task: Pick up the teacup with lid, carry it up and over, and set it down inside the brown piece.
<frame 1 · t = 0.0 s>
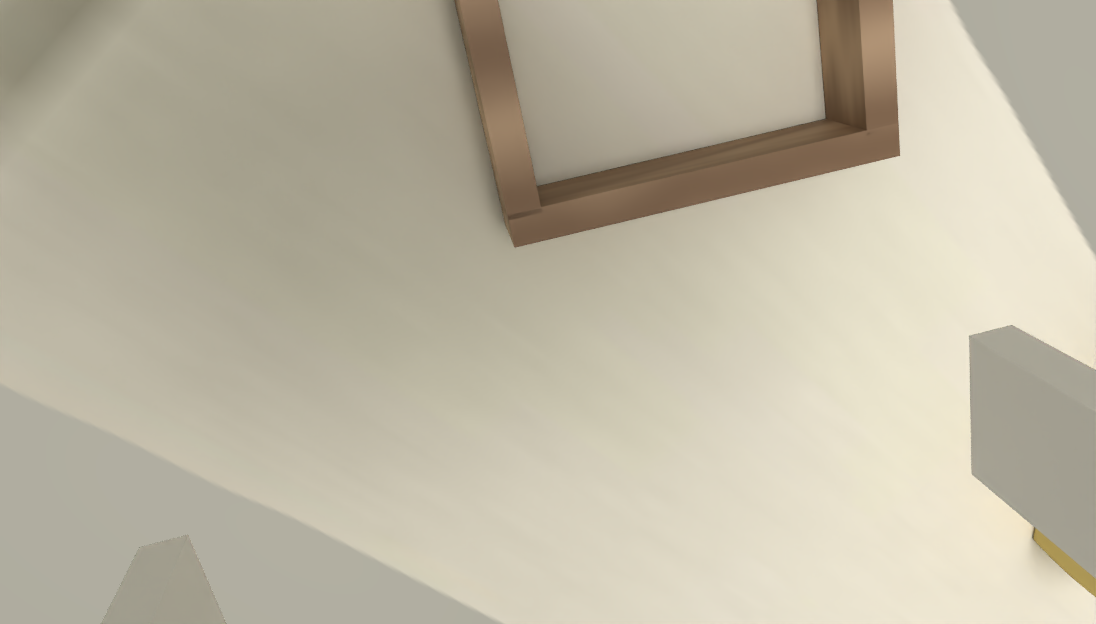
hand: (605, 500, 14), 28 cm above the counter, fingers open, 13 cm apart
brown piece: (662, 30, 39), on the counter
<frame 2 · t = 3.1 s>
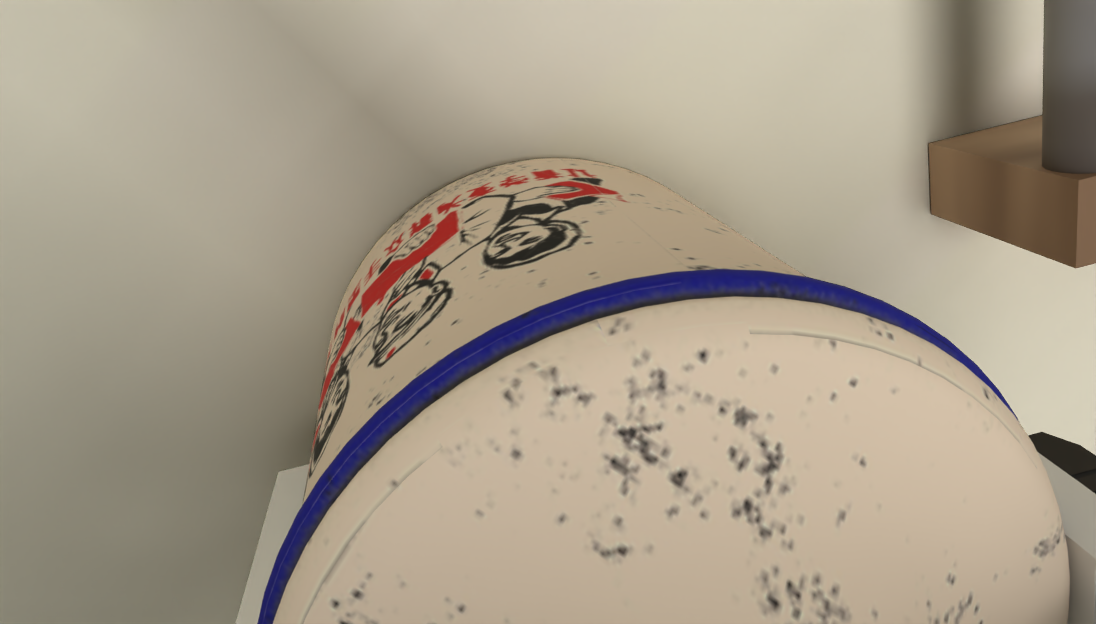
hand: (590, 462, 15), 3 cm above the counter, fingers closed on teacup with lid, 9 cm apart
teacup with lid: (499, 413, 18), on the counter, touching gripper
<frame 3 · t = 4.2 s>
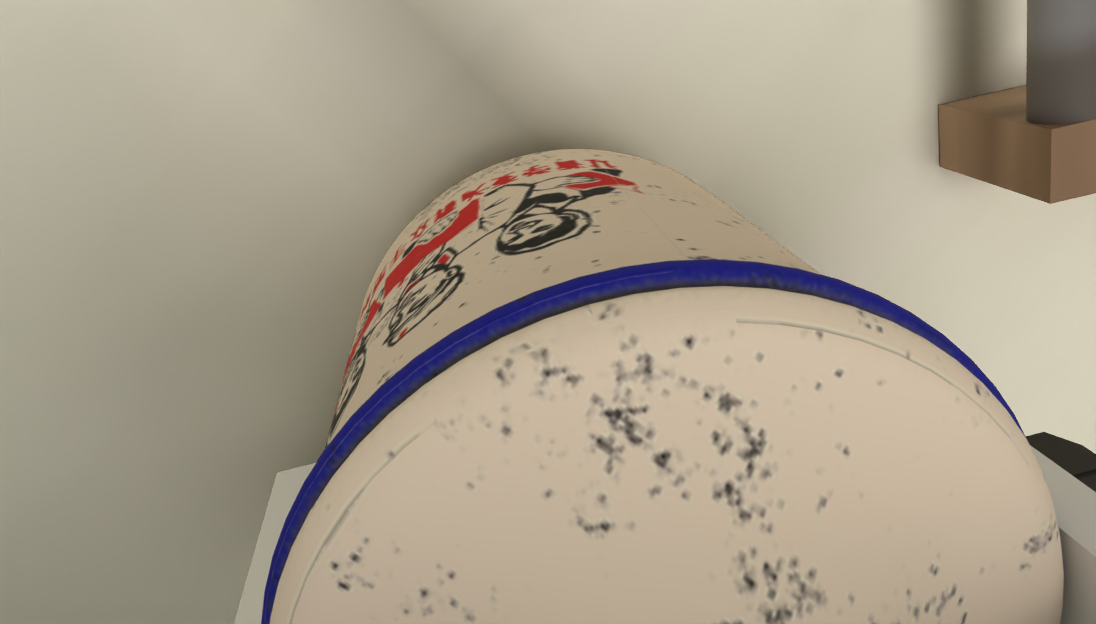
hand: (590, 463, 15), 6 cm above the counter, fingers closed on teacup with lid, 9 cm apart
teacup with lid: (521, 398, 18), point 3 cm above the counter, touching gripper
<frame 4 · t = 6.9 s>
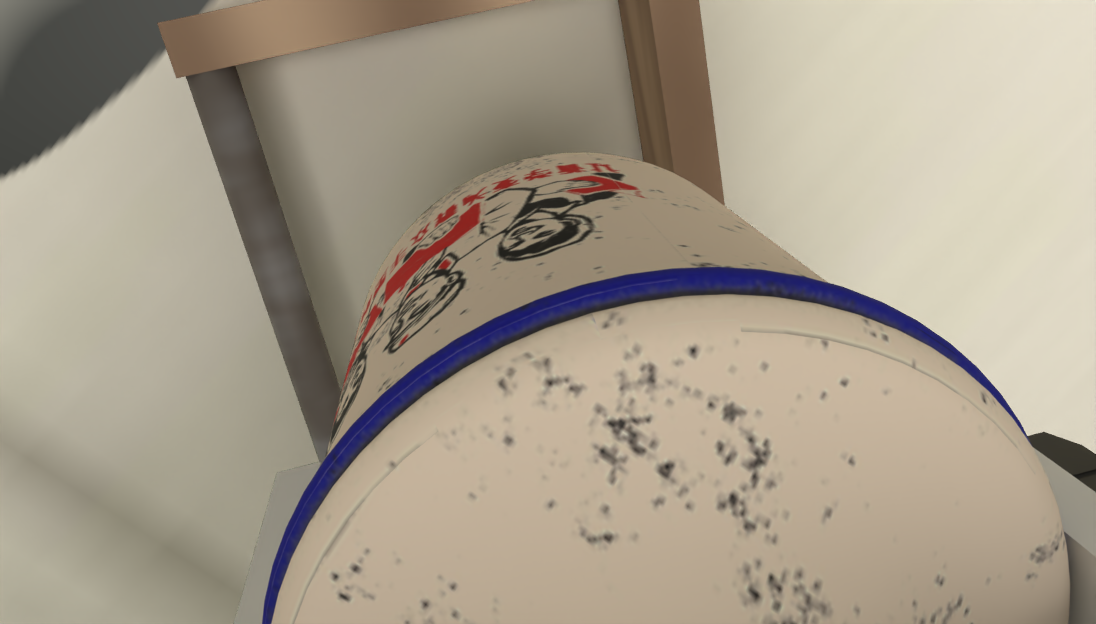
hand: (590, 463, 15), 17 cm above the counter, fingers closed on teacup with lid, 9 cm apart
brown piece: (497, 229, 31), on the counter
teacup with lid: (522, 402, 18), point 14 cm above the counter, touching gripper
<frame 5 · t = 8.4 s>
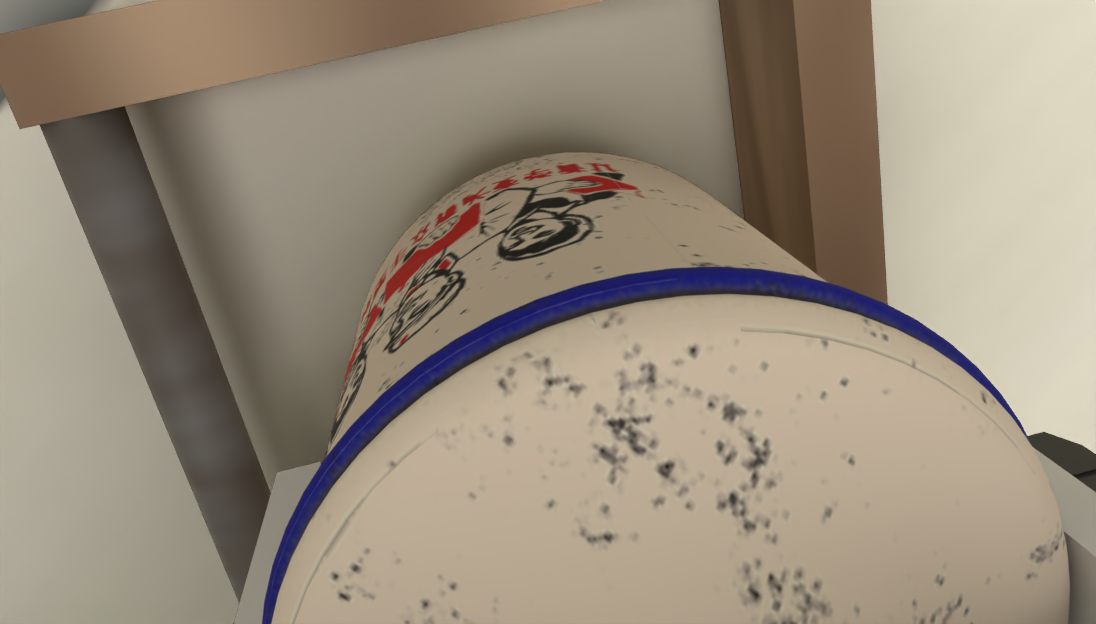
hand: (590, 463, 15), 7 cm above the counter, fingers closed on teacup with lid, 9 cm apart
brown piece: (534, 331, 21), on the counter
teacup with lid: (522, 402, 18), point 4 cm above the counter, touching gripper
when the fingers open (4 cm above the counter, at t = 9.6 s): teacup with lid drops 1 cm, on the counter.
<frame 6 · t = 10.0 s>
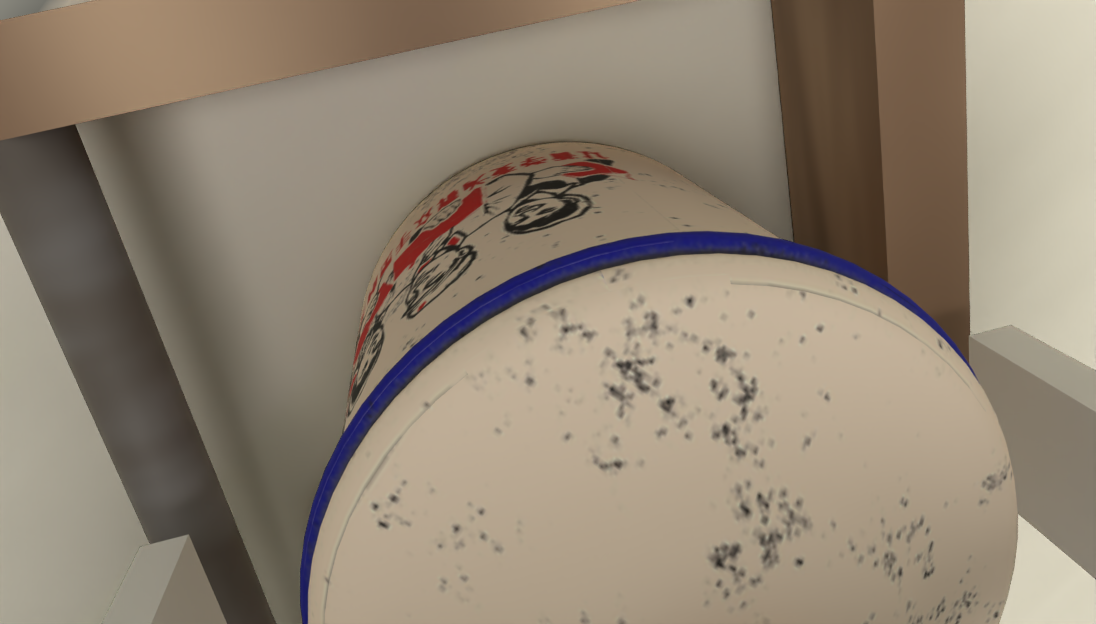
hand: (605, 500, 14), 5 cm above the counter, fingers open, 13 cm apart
brown piece: (555, 372, 19), on the counter
teacup with lid: (516, 380, 19), on the counter
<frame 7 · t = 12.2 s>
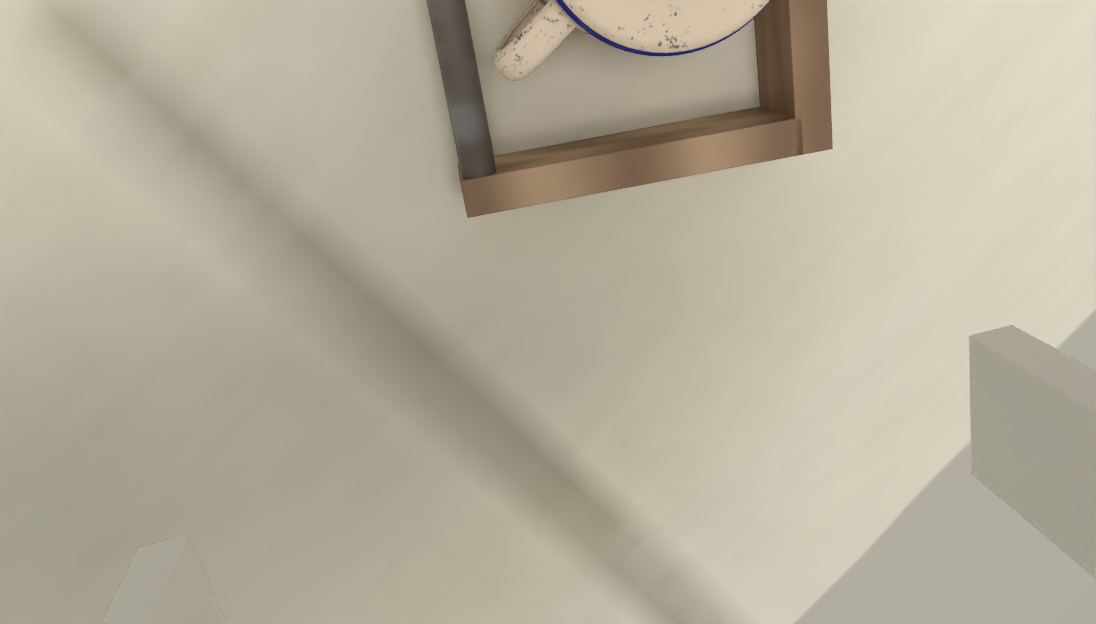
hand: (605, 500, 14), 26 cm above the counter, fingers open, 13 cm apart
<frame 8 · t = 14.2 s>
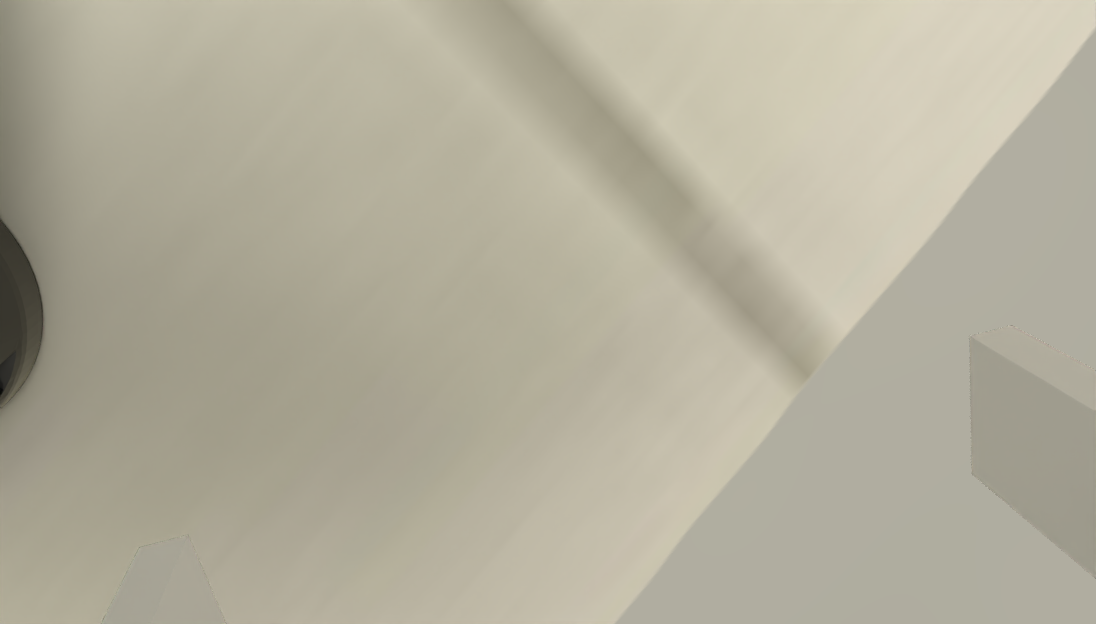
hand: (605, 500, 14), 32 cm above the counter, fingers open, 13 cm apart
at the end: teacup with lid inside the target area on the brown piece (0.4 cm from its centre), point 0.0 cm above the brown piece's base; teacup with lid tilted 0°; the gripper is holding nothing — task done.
